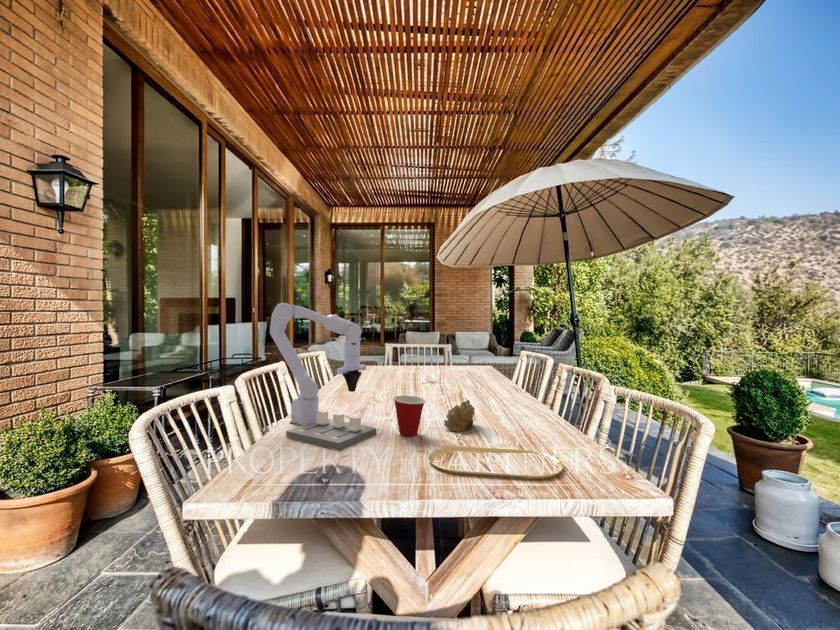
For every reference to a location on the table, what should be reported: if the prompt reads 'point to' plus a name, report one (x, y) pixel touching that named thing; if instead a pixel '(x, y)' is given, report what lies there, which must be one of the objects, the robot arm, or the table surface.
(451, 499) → the table surface
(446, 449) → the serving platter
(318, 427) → the switch panel
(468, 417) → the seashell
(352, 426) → the right switch
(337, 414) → the switch
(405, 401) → the plastic cup
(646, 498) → the table surface
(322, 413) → the left switch
